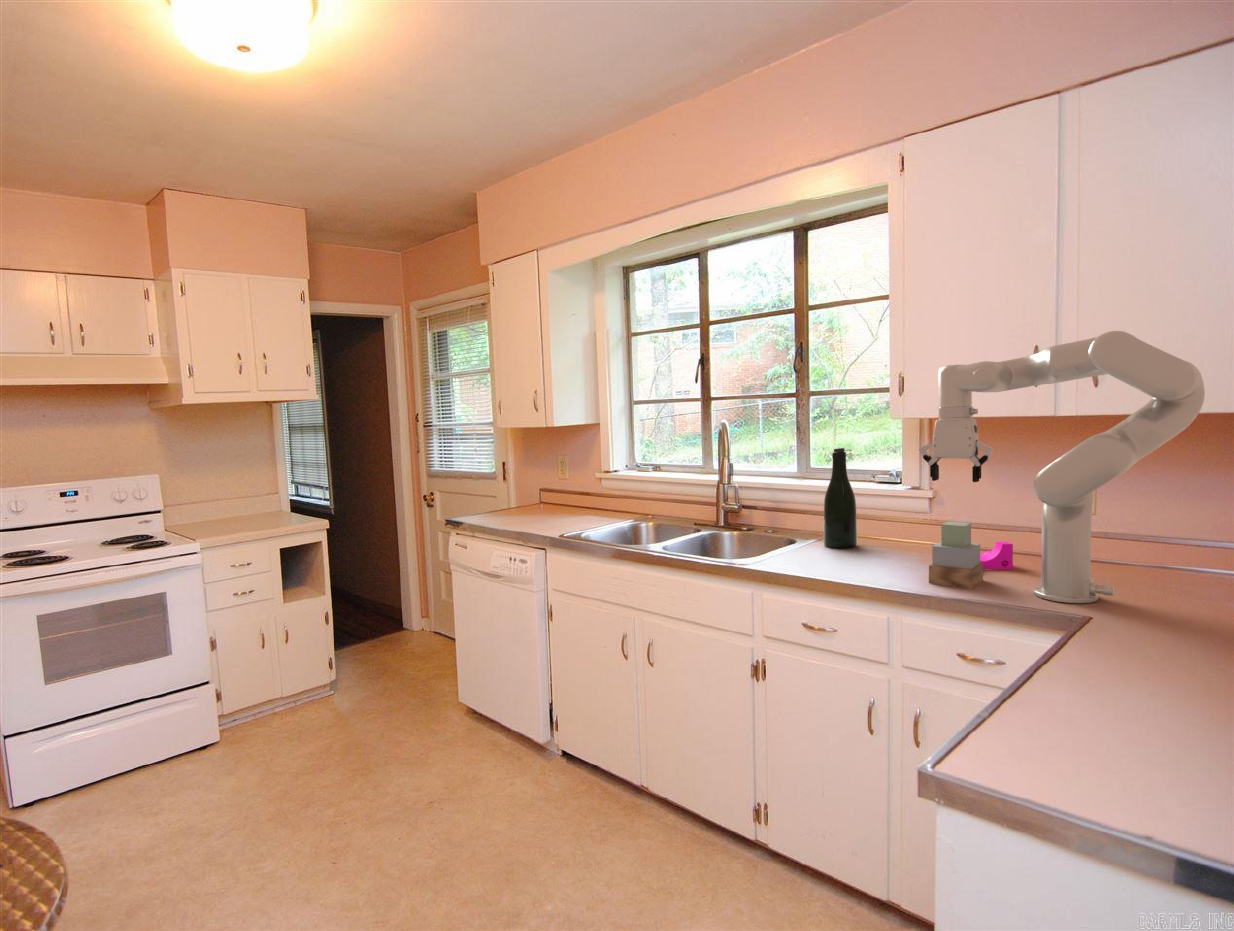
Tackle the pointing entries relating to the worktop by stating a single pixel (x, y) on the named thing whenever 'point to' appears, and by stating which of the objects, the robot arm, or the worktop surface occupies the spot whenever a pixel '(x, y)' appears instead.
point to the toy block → (998, 557)
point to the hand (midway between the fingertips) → (955, 481)
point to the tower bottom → (956, 576)
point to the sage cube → (956, 534)
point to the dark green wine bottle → (840, 507)
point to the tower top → (956, 556)
